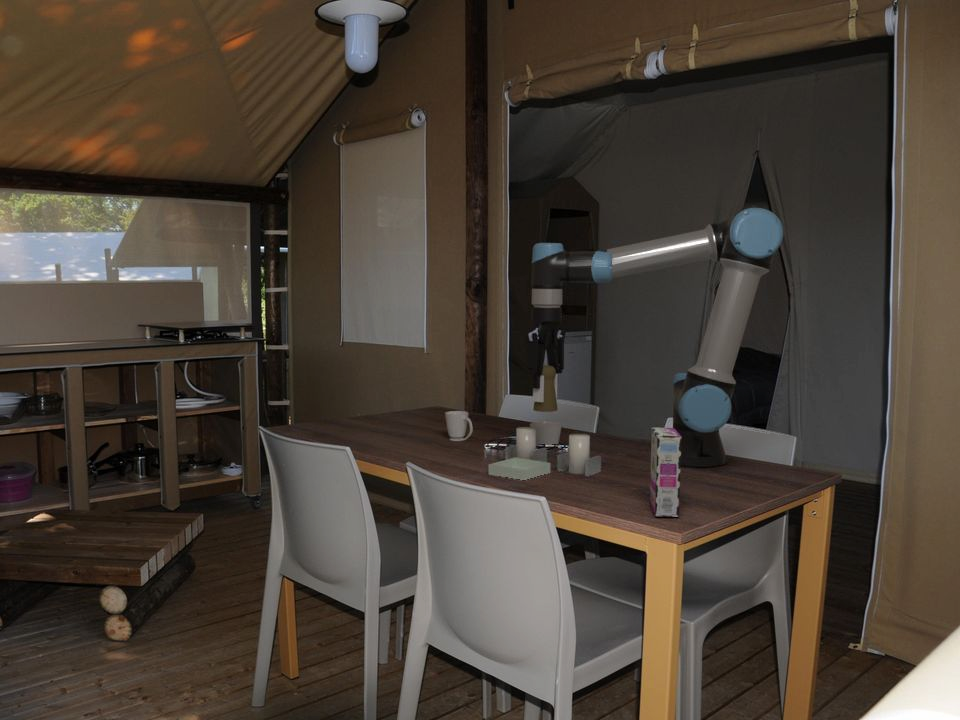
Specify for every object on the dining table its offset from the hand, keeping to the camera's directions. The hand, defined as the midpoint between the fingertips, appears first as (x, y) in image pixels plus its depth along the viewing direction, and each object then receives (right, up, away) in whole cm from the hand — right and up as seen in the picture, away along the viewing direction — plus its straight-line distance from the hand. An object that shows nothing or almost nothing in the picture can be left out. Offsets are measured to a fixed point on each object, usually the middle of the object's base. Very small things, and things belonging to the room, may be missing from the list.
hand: (545, 400), depth 211 cm
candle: (+3, -15, +30) cm, 34 cm away
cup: (-22, -14, +40) cm, 48 cm away
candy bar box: (+21, -21, -38) cm, 49 cm away
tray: (-7, -18, -5) cm, 19 cm away
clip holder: (+2, -17, +3) cm, 17 cm away
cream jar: (+8, -17, -2) cm, 19 cm away
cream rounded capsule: (-4, -17, +8) cm, 19 cm away
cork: (0, -3, +1) cm, 3 cm away
